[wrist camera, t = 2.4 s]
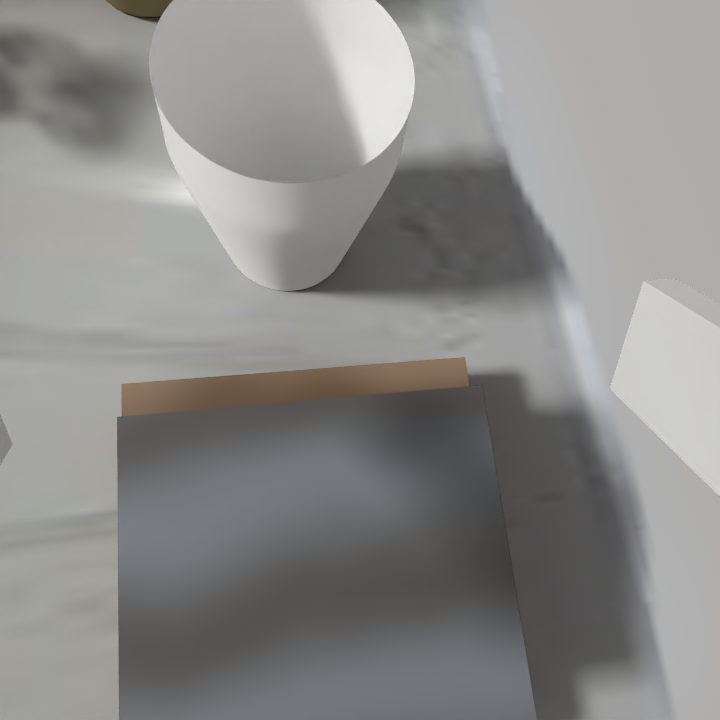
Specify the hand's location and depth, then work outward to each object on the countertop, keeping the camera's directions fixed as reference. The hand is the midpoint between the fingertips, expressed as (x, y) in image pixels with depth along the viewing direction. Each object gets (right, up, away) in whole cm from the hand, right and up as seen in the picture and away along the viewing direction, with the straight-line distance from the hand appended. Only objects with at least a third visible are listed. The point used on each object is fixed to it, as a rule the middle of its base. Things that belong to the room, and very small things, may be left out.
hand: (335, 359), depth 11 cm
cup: (-4, +7, +18) cm, 20 cm away
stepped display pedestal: (-2, -10, +14) cm, 17 cm away
